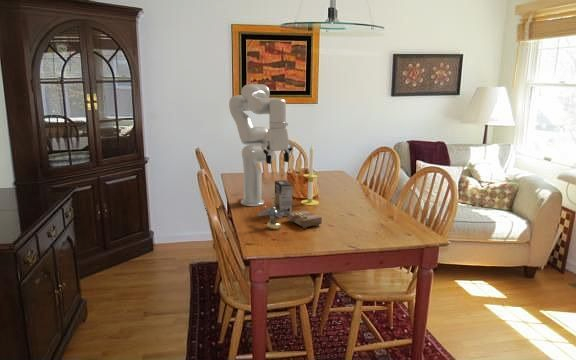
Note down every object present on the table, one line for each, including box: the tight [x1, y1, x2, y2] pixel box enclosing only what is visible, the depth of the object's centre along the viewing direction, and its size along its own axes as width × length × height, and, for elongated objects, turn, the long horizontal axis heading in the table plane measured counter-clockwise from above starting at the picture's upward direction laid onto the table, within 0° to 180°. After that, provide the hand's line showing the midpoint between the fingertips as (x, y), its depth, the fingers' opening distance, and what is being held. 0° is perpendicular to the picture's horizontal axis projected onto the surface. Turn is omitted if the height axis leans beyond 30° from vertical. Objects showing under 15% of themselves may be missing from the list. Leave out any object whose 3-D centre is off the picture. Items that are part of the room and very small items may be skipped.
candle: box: [300, 144, 320, 206], centre depth 247 cm, size 10×10×32 cm
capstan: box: [257, 205, 287, 230], centre depth 211 cm, size 16×15×9 cm
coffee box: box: [274, 179, 294, 217], centre depth 230 cm, size 9×6×16 cm
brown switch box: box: [286, 209, 323, 230], centre depth 216 cm, size 14×10×6 cm
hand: (277, 162), depth 215 cm, fingers open, 9 cm apart
